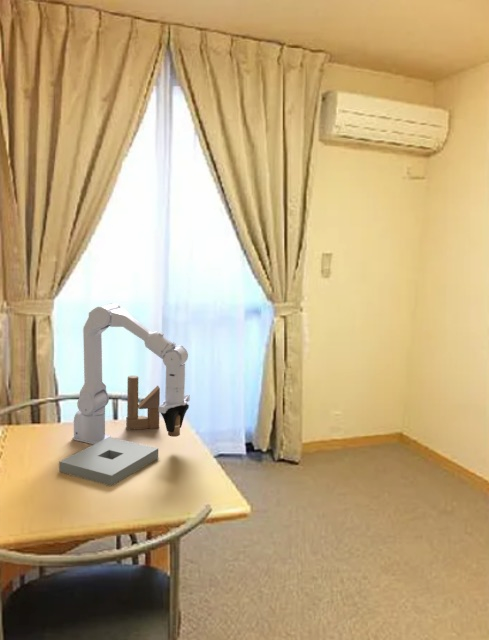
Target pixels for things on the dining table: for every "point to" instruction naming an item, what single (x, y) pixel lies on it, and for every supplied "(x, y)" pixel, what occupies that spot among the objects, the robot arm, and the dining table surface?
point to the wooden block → (141, 407)
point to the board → (108, 461)
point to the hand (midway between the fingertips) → (174, 429)
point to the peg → (176, 427)
